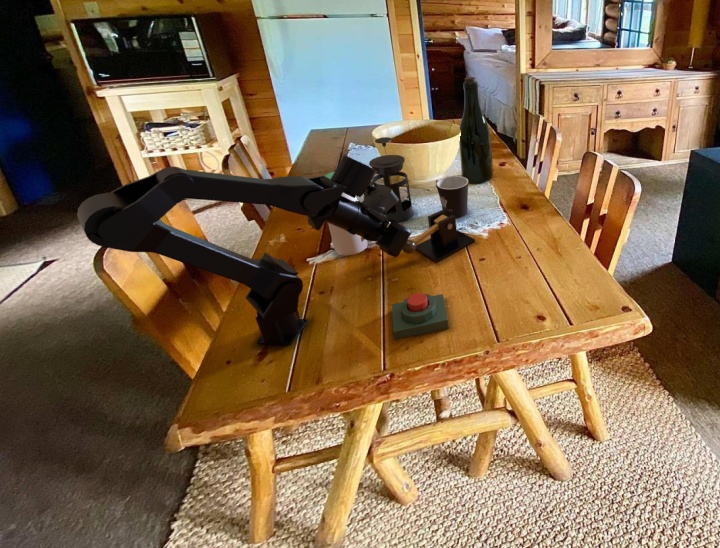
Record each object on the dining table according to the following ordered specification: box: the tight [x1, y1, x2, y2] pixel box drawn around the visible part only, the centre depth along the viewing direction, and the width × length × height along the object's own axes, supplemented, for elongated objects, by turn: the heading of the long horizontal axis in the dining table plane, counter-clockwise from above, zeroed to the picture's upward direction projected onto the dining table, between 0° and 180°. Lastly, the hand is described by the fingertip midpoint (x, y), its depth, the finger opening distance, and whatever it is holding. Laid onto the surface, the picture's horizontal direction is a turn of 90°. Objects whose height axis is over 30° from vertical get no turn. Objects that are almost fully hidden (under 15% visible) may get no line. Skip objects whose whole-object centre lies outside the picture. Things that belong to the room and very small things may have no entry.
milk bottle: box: [324, 171, 369, 256], centre depth 105 cm, size 8×8×20 cm
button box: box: [391, 293, 450, 340], centre depth 85 cm, size 10×8×4 cm
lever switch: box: [415, 209, 476, 264], centre depth 108 cm, size 12×9×9 cm
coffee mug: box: [435, 175, 469, 220], centre depth 123 cm, size 12×9×10 cm
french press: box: [368, 136, 415, 224], centre depth 118 cm, size 12×9×23 cm
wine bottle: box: [458, 76, 494, 184], centre depth 139 cm, size 10×10×33 cm
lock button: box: [407, 292, 428, 312], centre depth 84 cm, size 4×4×2 cm
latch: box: [402, 215, 447, 254], centre depth 103 cm, size 13×3×3 cm, turn 139°
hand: (403, 239), depth 99 cm, fingers closed
